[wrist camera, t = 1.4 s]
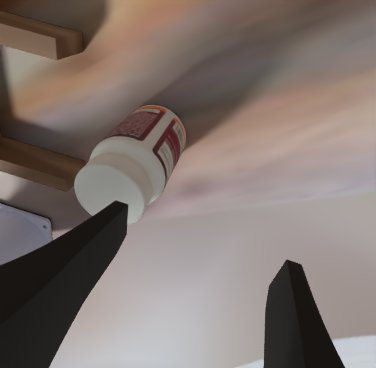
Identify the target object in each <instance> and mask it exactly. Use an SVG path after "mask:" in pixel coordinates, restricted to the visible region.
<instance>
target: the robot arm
mask: <svg viewBox="0 0 376 368" xmlns="http://www.w3.org/2000/svg"><path fill="white" fill-rule="evenodd" d="M127 220H128V204H126V203H123V202H120V201H117V200H115V201H113V202H112V203H111V204H109V205H108V206H106V207H105V208H104V209H102V210H101V211H99V212H98V213H96V214H95V215H93V216H92V217H91V218H89V219H88V220H86V221H84V222H83V223H81V224H80V225H78V226H77V227H75V228H74V229H72V230H70V231H69V232H67V233H65V234H63V235H62V236H60V237H58V238H57V239H55V240H53V237H52V230H51V222H50V220H49V219H47V218H44V217H41V216H38V215H35V214H32V213H29V212H25V211H22V210H19V209H16V208H13V207H10V206H7V205H3V204H0V368H49V366H50V364H51V362H52V360H53V358H54V357H55V355H56V352H57V351H58V349H59V347H60V345H61V343H62V341H63V339H64V337H65V335H66V334H67V332H68V330H69V328H70V326H71V324H72V322H73V321H74V319H75V317H76V315H77V313H78V311H79V310H80V308H81V306H82V304H83V303H84V301H85V300H86V298H87V296H88V295H89V293H90V292H91V290H92V289H93V288H94V286H95V285H96V283H97V282H98V280H99V279H100V277H101V276H102V274H103V273H104V271H105V270H106V269H107V267H108V266H109V264H110V263H111V261H112V260H113V258H114V257H115V255H116V254H117V252H118V250H119V248H120V246H121V244H122V242H123V240H124V238H125V236H126V233H127ZM264 368H345V366H344V365H343V363H342V361H341V359H340V357H339V355H338V353H337V351H336V349H335V347H334V345H333V343H332V340H331V338H330V336H329V334H328V332H327V330H326V327H325V325H324V323H323V320H322V318H321V315H320V313H319V311H318V308H317V306H316V303H315V301H314V298H313V295H312V293H311V290H310V287H309V284H308V282H307V279H306V276H305V273H304V270H303V267H302V265H301V264H298V263H295V262H292V261H290V260H286V261H285V263H284V265H283V266H282V267H281V269H280V270H279V272H278V273H277V275H276V276H275V278H274V279H273V281H272V283H271V284H270V286H269V290H268V296H267V303H266V312H265V344H264Z"/></svg>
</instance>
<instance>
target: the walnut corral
mask: <svg viewBox="0 0 376 368" xmlns="http://www.w3.org/2000/svg"><path fill="white" fill-rule="evenodd" d="M0 45H4V46H8V47H11V48H15V49H18V50H22V51H26V52H29V53H33V54H36V55H40V56H44V57H47V58H51V59H55V60H59V59H62V58H65V57H69V56H72V55H75V54H78V53H81V52H83V33H82V32H78V31H74V30H71V29H67V28H63V27H59V26H56V25H52V24H48V23H44V22H41V21H37V20H33V19H29V18H26V17H22V16H18V15H15V14H11V13H7V12H3V11H0ZM84 166H85V161H82V160H79V159H75V158H72V157H69V156H65V155H62V154H59V153H55V152H52V151H49V150H45V149H42V148H39V147H35V146H32V145H29V144H25V143H22V142H19V141H15V140H12V139H9V138H5V137H2V135H1V130H0V171H2V172H5V173H8V174H12V175H15V176H18V177H21V178H24V179H28V180H31V181H34V182H37V183H41V184H44V185H47V186H50V187H54V188H57V189H60V190H63V191H66V192H67V191H68V190H69V189H70V188H71V187H72V186H73V185H74V182H75V178H76V176H77V174H78V173H79V171H80V170H81V169H82V168H83V167H84Z"/></svg>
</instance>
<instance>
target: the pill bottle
mask: <svg viewBox="0 0 376 368" xmlns="http://www.w3.org/2000/svg"><path fill="white" fill-rule="evenodd" d="M185 144H186V132H185V128H184V126H183V124H182V122H181V120H180V119H179V118H178V117H177V116H176V115H175V114H174V113H173V112H172V111H171V110H169V109H167V108H165V107H163V106H159V105H146V106H142V107H140V108H138V109H137V110H135V111H134V112H133V113H132V114H130V115H129V116H128V117H127V118H126V119H125V120H124V121H123V122H122V123H121V124H120V125H119V126H118V127H116V128H115V129H114V130H113V131H112V132H111V133H110V134H109V135H108V136H107V137H106V138H104V139H103V140H102V141H101V142H100V143H99V144H98V145H97V146H96V147H95V148H94V150H93V152H92V154H91V156H90V160H89V161H88V163H87V164H86V165H85V166H84V167H83V168H82V169H81V170H80V171H79V173H78V174H77V176H76V178H75V182H74V189H75V194H76V197H77V199H78V201H79V202H80V204H81V205H82V207H83V208H84V209H85V210H86V211H87V212H88V213H89V214H90V215H92V216H93V215H95V214H96V213H98V212H99V211H101V210H102V209H104V208H105V207H106V206H108V205H109V204H111V203H112V202H113V201H115V200H117V201H120V202H123V203H126V204H128V220H127V225H129V224H133V223H135V222H136V221H138V220H139V219H140V218H141V217H142V215H143V214H144V212H145V210H146V209H147V207H148V205H149V204H150V203H152V202H153V201H155V200H156V199H157V198H158V197H159V196H160V195H161V193H162V192H163V190H164V188H165V186H166V183H167V181H168V179H169V178H170V176H171V173H172V171H173V169H174V168H175V166H176V164H177V162H178V160H179V158H180V156H181V154H182V152H183V150H184V147H185Z"/></svg>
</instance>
